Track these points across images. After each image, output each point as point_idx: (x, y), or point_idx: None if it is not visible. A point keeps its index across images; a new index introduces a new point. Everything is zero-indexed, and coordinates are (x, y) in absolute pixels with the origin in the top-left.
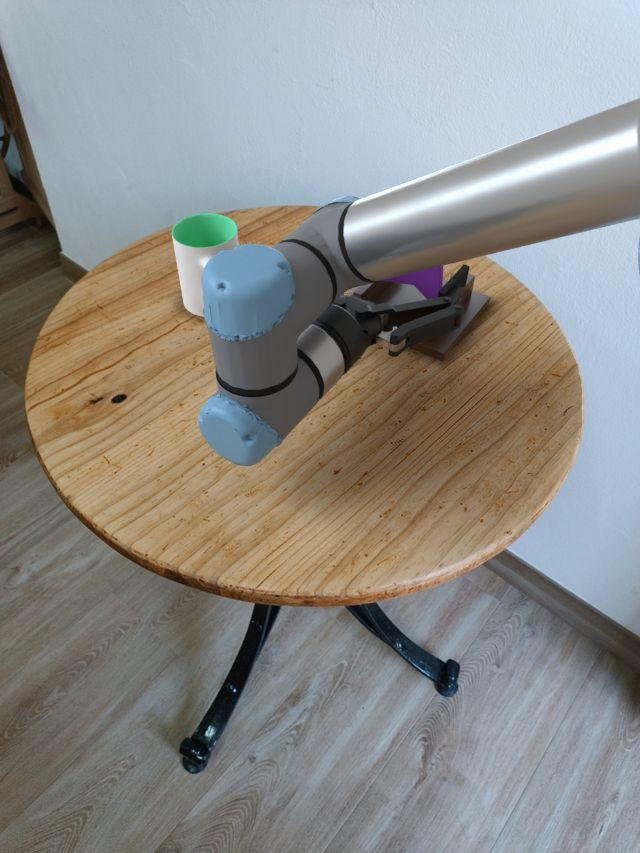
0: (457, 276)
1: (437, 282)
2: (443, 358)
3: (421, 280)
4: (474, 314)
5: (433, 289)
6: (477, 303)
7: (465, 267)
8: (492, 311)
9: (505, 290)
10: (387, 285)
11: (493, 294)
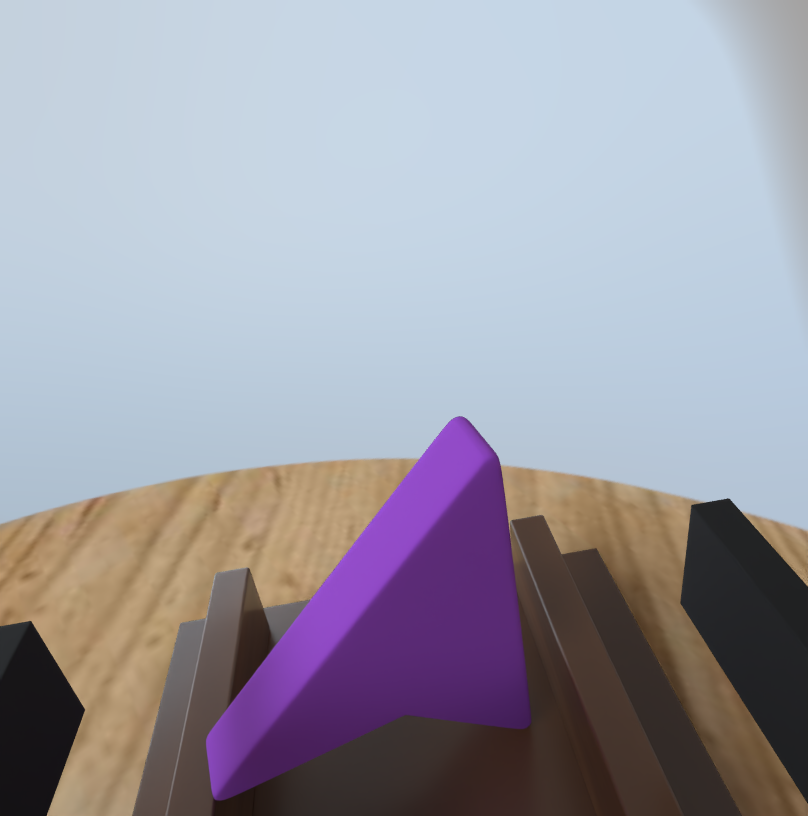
0: (805, 603)
1: (512, 642)
2: None
3: (438, 678)
4: (646, 649)
5: (498, 676)
6: (597, 597)
7: (727, 516)
8: (634, 589)
9: (574, 503)
10: None
11: (566, 533)
